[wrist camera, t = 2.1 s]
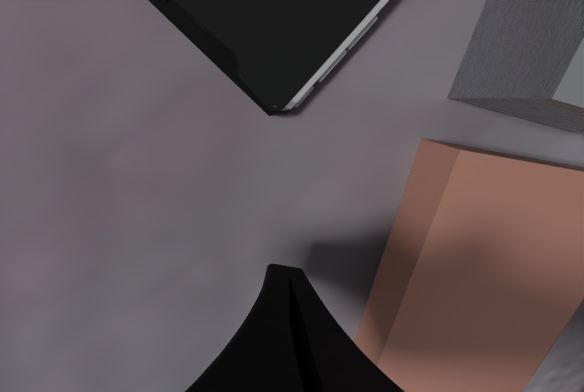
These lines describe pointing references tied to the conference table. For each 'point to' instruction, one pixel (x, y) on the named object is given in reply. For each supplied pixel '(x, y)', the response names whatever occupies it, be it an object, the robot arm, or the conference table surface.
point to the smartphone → (273, 41)
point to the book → (476, 271)
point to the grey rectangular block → (527, 62)
